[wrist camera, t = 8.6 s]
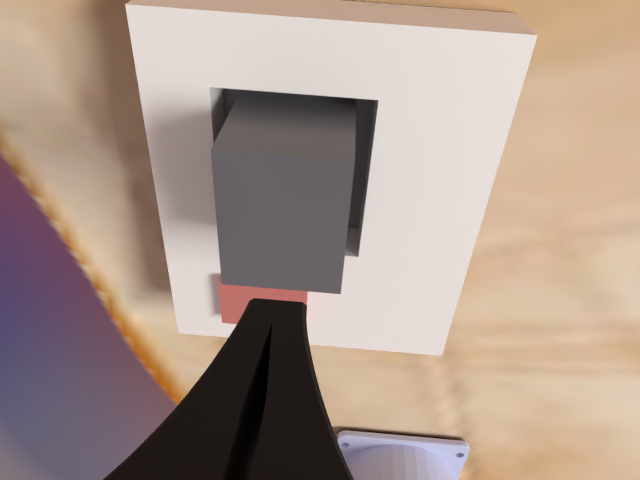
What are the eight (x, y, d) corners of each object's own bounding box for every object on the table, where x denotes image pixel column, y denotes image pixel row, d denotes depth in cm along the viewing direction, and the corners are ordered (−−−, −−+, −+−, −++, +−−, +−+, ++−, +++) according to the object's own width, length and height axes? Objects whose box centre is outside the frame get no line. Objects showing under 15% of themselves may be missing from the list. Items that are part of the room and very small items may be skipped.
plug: (344, 211, 21) (340, 294, 17) (247, 202, 21) (221, 284, 17) (356, 93, 18) (354, 161, 14) (243, 84, 18) (210, 149, 14)
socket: (435, 316, 25) (442, 364, 23) (192, 295, 26) (175, 341, 23) (516, 13, 17) (542, 40, 14) (152, -14, 17) (118, 8, 15)
